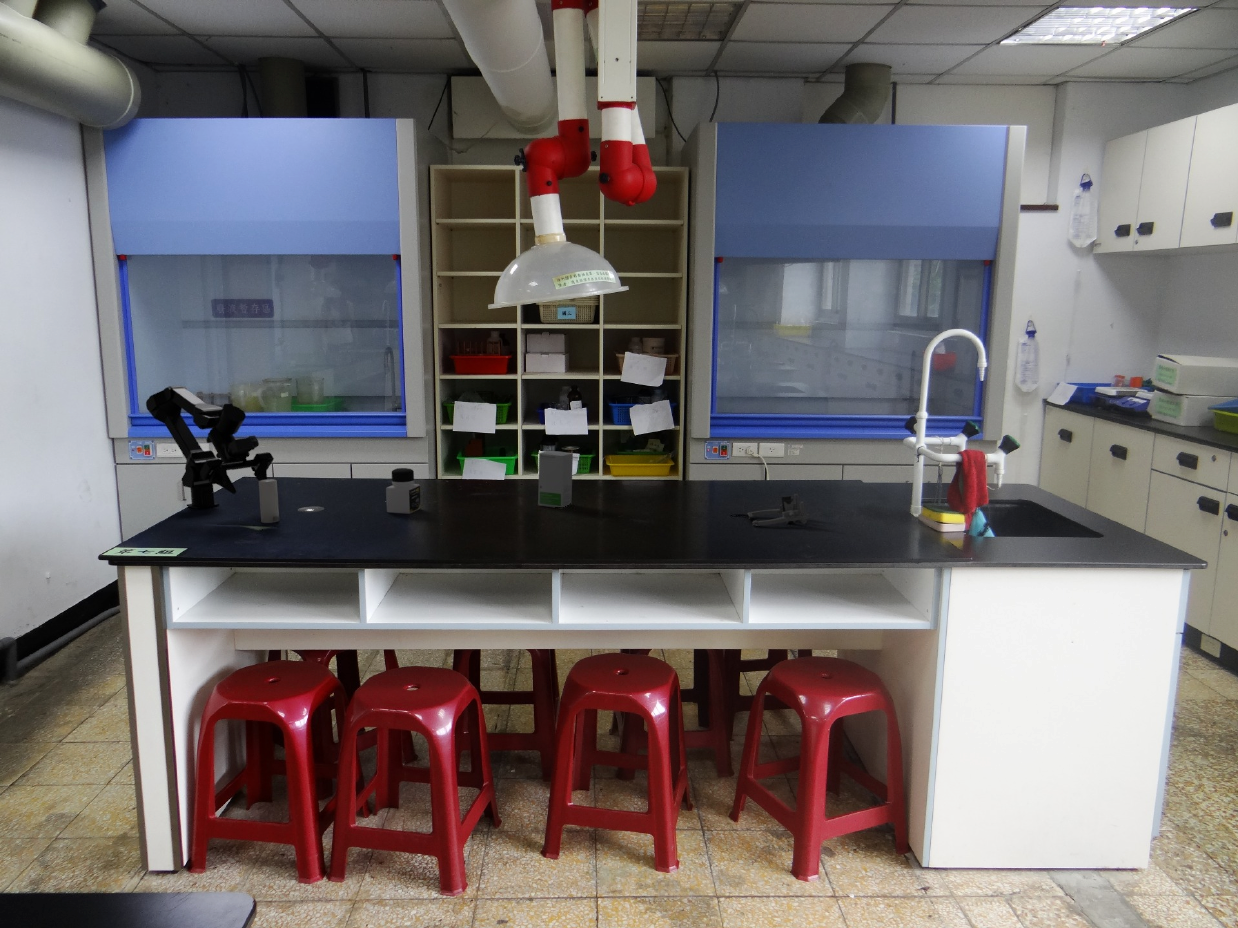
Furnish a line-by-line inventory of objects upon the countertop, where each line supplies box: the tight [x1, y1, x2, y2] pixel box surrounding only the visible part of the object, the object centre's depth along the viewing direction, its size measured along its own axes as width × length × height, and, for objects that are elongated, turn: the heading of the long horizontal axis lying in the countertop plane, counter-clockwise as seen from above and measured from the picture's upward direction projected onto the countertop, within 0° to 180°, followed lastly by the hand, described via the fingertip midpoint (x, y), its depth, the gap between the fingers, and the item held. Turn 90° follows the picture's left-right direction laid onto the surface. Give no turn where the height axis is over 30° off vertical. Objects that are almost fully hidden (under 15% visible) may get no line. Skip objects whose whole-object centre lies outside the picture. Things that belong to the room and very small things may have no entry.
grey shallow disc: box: [297, 506, 325, 513], centre depth 245 cm, size 7×7×1 cm
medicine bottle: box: [385, 467, 421, 515], centre depth 246 cm, size 7×7×12 cm
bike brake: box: [733, 493, 810, 527], centre depth 237 cm, size 14×7×20 cm
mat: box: [233, 523, 276, 531], centre depth 231 cm, size 12×12×1 cm
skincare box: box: [537, 450, 574, 508], centre depth 254 cm, size 8×7×16 cm
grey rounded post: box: [258, 478, 280, 524], centre depth 230 cm, size 6×4×11 cm
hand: (251, 490), depth 234 cm, fingers open, 9 cm apart
